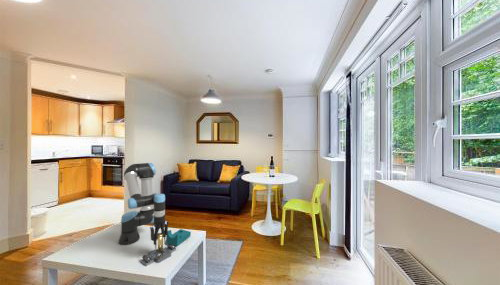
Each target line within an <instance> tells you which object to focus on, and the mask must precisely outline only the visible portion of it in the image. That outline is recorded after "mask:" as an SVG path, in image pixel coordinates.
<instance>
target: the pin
mask: <svg viewBox="0 0 500 285" xmlns="http://www.w3.org/2000/svg"><path fill="white" fill-rule="evenodd" d="M157 240H158V249H156V252H161V251H163V247H164V246H163V233H161V232H158V235H157Z"/></svg>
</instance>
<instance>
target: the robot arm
mask: <svg viewBox="0 0 500 285" xmlns="http://www.w3.org/2000/svg"><path fill="white" fill-rule="evenodd" d="M156 171H157V170H156V166H155V164H154V163H152V162H147V163H146V162H144V163H143V162H142V163H133V164H130V165H129V166H128V167H127V168H125V170H124V173H123V178H124V180H125V181H126V185H127V190H128V194H129V195H128V196H129V198H128V199H127V207H128V209H130V211H128V212H125V213H124V214H122V216H121V220H120V222H121V226H120V228H121V229H120V236H119V239H118V244H119V245H120V246H122V245H123V246H127V245H128V246H129V245H131V244H134V243H137V242H138V241H139V240H140V233H139V230H138V227H141V226H146V225H150V224H153V225H151V226H149V229H150V240H151V241H152V242H153V245H154V250H155V249H158V240H157V235H158V233H159V231H161V232H160V233H163V247H165V242H166V235H167V234H168V231H169V230H168V229H169V221H168V220H166V195H165V193H156V192H154V193H153V179H154V177H155V176H156ZM138 178H139V180H140V184H139V181H138ZM138 208H140V209H139V211H137V210H133V209H138ZM131 210H132V211H131Z"/></svg>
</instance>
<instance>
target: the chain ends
mask: <svg viewBox="0 0 500 285" xmlns="http://www.w3.org/2000/svg"><path fill="white" fill-rule="evenodd" d="M176 251H177V247H176V246H175V245H171V244H167V245H166V247H165V246H164V248H163V251H161V252H156V249H155V248H154V249H153V250H151V251H148V252H147V255H146V254H144V255H142V258H141V260H140V263H141V264H142V265H144V266H145V267H147V266H149V265H151V264H154V262H156V263H158V264H159V263H161V262H163V261H165V260H167V259H169V258H170V257H172V253H174V252H176Z"/></svg>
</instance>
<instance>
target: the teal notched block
mask: <svg viewBox="0 0 500 285" xmlns="http://www.w3.org/2000/svg"><path fill="white" fill-rule="evenodd" d="M191 234H192V231H189V230H186V229H183V228H180V229H178V230H176V232H174V233H172V230H171V229H170V230H168V234H167V235H166V237H165V245H166V246H167V244H171V245H173V246H175V247H178V246H180V245H181V243H183V242H184V241H186V240H187V239H188V238H190V237H191Z"/></svg>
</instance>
